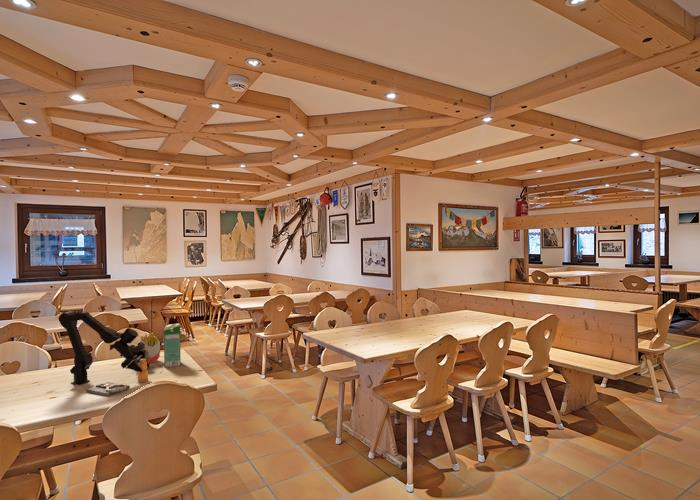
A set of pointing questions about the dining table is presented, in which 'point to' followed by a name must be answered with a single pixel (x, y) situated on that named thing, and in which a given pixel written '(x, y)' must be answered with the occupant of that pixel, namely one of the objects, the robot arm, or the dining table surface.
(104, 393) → the plate
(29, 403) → the dining table surface
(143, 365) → the wire nut
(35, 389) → the dining table surface
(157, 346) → the french fries container
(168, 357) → the milk carton
